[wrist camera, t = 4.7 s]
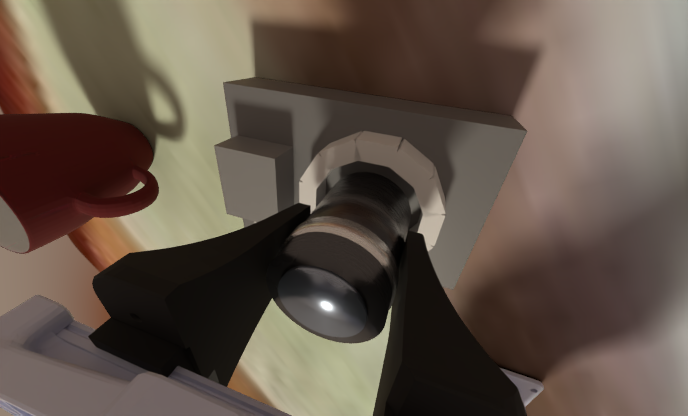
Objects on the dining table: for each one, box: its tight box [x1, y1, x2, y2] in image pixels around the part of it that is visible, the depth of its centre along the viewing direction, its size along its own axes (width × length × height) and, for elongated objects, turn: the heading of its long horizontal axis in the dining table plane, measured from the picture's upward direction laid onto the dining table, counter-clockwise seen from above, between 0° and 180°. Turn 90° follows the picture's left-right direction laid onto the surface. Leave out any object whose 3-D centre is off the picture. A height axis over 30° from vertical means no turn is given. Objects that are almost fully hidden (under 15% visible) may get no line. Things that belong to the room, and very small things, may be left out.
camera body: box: [214, 77, 527, 290], centre depth 16 cm, size 10×15×5 cm, turn 85°
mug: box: [0, 113, 159, 254], centre depth 19 cm, size 10×8×10 cm
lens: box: [266, 172, 411, 343], centre depth 11 cm, size 5×5×6 cm
